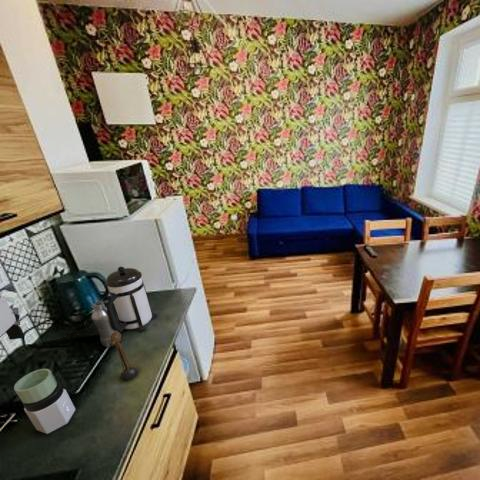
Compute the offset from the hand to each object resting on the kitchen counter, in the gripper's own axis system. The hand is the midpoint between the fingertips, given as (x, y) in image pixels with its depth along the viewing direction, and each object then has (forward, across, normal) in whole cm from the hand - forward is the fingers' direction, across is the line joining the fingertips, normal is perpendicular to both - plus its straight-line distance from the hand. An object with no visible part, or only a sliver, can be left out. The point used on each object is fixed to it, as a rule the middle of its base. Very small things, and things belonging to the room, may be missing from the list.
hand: (5, 350), depth 74 cm
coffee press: (+26, -37, +17) cm, 49 cm away
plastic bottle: (+26, -28, +10) cm, 40 cm away
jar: (+26, +4, +6) cm, 27 cm away
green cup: (+14, +4, +6) cm, 16 cm away
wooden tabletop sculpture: (+26, -7, +23) cm, 35 cm away
